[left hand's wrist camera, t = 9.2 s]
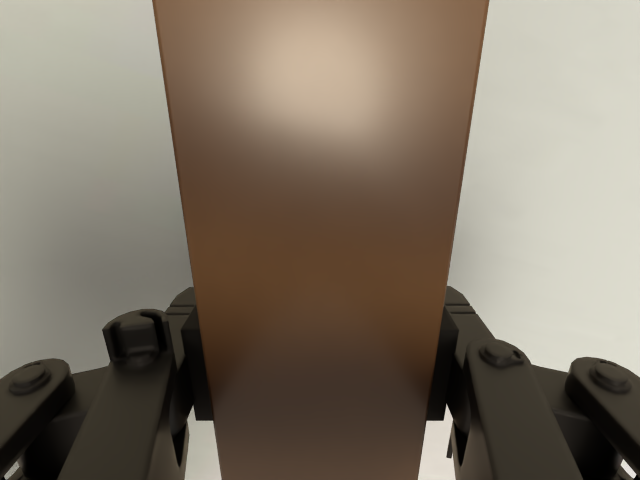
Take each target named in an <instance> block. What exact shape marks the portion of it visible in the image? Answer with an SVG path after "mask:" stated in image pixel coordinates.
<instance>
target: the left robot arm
mask: <svg viewBox="0 0 640 480" xmlns="http://www.w3.org/2000/svg"><path fill="white" fill-rule="evenodd" d="M102 331H103V335H104V339H105V342H106V346H107V350H108V353H109V357H110V363H109V365H108V366H106V367H103V368H99V369H94V370H89V371H85V372H80V373H75V374H71V371H70V368H69V365H68V364H67V363H66V362H65V361H64V360H60V359H45V360H39V361H35V362H33V363H32V362H31V363H28V364H26V365H23V366H22V367H20V368H18V369H16V370H14V371H11V372H10V373H9V374H7V375H6V376H4V377H3V378H2V379H0V480H6V479H5V478H4V475H5V474H6V473H7V472H8V470H9V469H10V468H11V467H12V466H13V465H14V463H15V462H16V461H17V462H18V464H19V466H20V467H19V468H18V469H17V470H16V472H15V473H14V474H13V475H12V476H11V477H10V478H9V479H7V480H184V478H185V469H186V461H187V452H188V443H189V429H188V423H187V418H188V416H189V413H190V411H191V408H192V406H194V412H195V417H196V421H213V416H212V409H211V402H210V395H209V388H208V381H207V374H206V367H205V360H204V354H203V347H202V340H201V333H200V326H199V319H198V312H197V305H196V298H195V292H194V287H189V288H188V289H186V290H185V291H183V292H182V293H180V294H179V295H177V296H176V298H175V299H174V300H173V302H172V303H171V305H170V307H168V309H167V310H166V311H165V313H164V312H163V311H160V310H156V309H141V310H136V311H131V312H128V313H126V314H123V315H121V316H118V317H116V318H115V319H113V320H112V321H110V322H109V323H108V324H107V325H106V326H105V327H104V328H103V329H102ZM446 403H447V405H448V408H449V410H450V413H451V415H452V417H453V423H452V428H451V434H450V439H449V445H448V450H447V458H451V457H452V452H453V460H454V468H455V477H456V480H640V377H638V376H637V375H635V374H634V373H633V372H631V371H630V370H628V369H626V368H624V367H622V366H620V365H618V364H616V363H614V362H611V361H606V360H604V359H600V358H592V357H583V358H577V359H576V360H574V361H573V362H572V363H571V366H570V369H569V372H568V373H567V372H562V371H558V370H553V369H548V368H544V367H539V366H536V365H532V364H531V363H530V360H529V359H528V358H527V356H526V355H525V354H524V353H523V352H522V351H521V350H519V349H518V348H517V347H515V346H514V345H511V344H509V343H507V342H505V341H502V340H498V339H495V338H494V336H493V335H492V334H491V332H490V331H489V329H488V328H487V327H486V325H485V324H484V323H483V321H482V320H481V319H480V317H479V316H478V315H477V314H476V312H475V310H474V309H473V308H472V306H470V304H469V302H468V301H467V300H466V298H465V297H464V296H463V294H461V293H460V292H458V291H457V290H455V289H454V288H452V287H451V286H447V287H446V293H445V300H444V307H443V313H442V320H441V327H440V333H439V340H438V347H437V354H436V360H435V367H434V374H433V380H432V387H431V394H430V400H429V407H428V414H427V420H426V421H444V415H445V409H446ZM623 459H624V460H625V461H626V462H627V464H628V465H629V466H630V467H631V468H632V469H633V471H634V472H635V473H636V474H637V475H636V477H635V478H634V479H633V478H632V477H631V476H630V475H629V474H628V473H627V472H626V471H625V470H624V469H623V468H622V466H621V463H622V460H623Z"/></svg>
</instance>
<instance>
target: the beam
mask: <svg viewBox="0 0 640 480" xmlns="http://www.w3.org/2000/svg"><path fill="white" fill-rule="evenodd" d="M152 2H153V9H154V16H155V23H156V30H157V37H158V44H159V50H160V57H161V64H162V71H163V78H164V85H165V92H166V99H167V106H168V112H169V119H170V126H171V133H172V140H173V147H174V154H175V161H176V168H177V174H178V181H179V188H180V195H181V202H182V209H183V216H184V223H185V230H186V236H187V243H188V250H189V257H190V264H191V271H192V278H193V285H194V292H195V298H196V305H197V312H198V319H199V326H200V333H201V340H202V347H203V354H204V360H205V367H206V374H207V381H208V388H209V395H210V402H211V409H212V416H213V422H214V429H215V436H216V443H217V450H218V457H219V464H220V471H221V478H222V480H418V474H419V467H420V460H421V454H422V447H423V440H424V434H425V427H426V420H427V414H428V407H429V400H430V394H431V387H432V380H433V374H434V367H435V360H436V354H437V347H438V340H439V333H440V327H441V320H442V313H443V307H444V300H445V293H446V287H447V280H448V273H449V267H450V260H451V253H452V247H453V240H454V233H455V227H456V220H457V213H458V206H459V200H460V193H461V186H462V180H463V173H464V166H465V160H466V153H467V146H468V140H469V133H470V126H471V120H472V113H473V106H474V100H475V93H476V86H477V79H478V73H479V66H480V59H481V53H482V46H483V39H484V33H485V26H486V19H487V13H488V6H489V0H152Z"/></svg>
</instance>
